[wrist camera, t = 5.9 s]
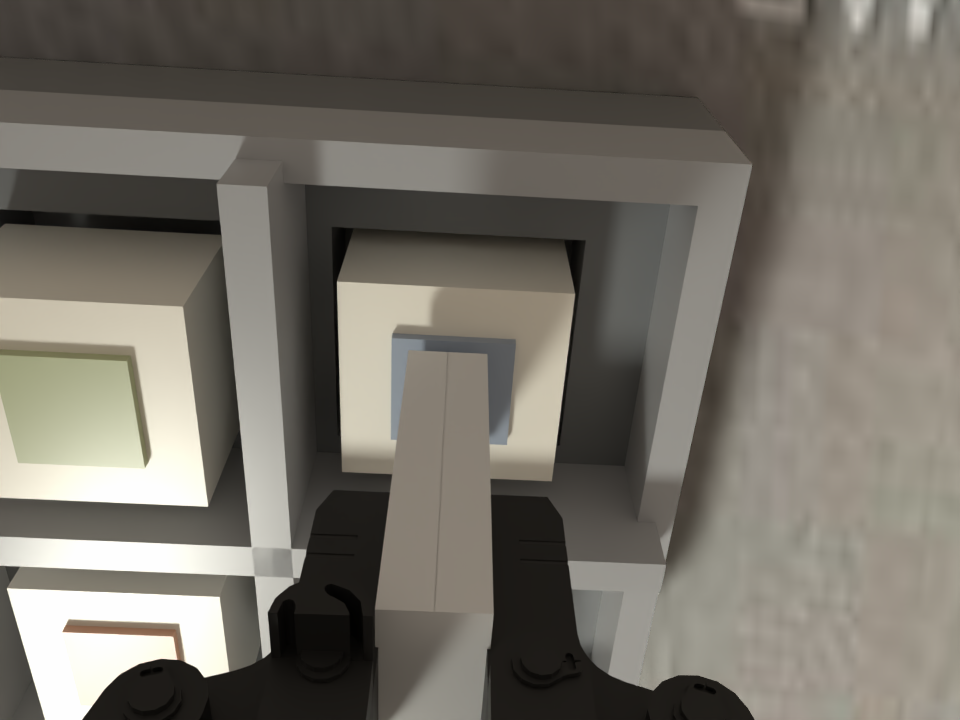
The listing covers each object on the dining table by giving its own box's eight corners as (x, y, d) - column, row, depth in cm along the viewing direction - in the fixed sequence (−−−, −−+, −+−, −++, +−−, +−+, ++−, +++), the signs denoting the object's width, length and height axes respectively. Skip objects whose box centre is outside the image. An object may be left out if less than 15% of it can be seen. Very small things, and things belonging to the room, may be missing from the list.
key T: (359, 391, 22) (340, 478, 19) (357, 217, 19) (335, 285, 17) (542, 399, 22) (552, 487, 19) (561, 229, 20) (575, 298, 17)
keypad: (53, 639, 28) (-40, 816, 23) (-104, 50, 19) (-315, 129, 14) (595, 660, 28) (621, 837, 23) (697, 97, 19) (773, 190, 14)
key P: (47, 407, 20) (-26, 502, 18) (5, 223, 18) (-86, 298, 15) (244, 416, 21) (205, 513, 18) (227, 235, 18) (179, 311, 15)
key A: (96, 623, 24) (43, 732, 21) (66, 492, 22) (2, 594, 19) (264, 629, 24) (234, 739, 21) (252, 500, 22) (217, 603, 19)
